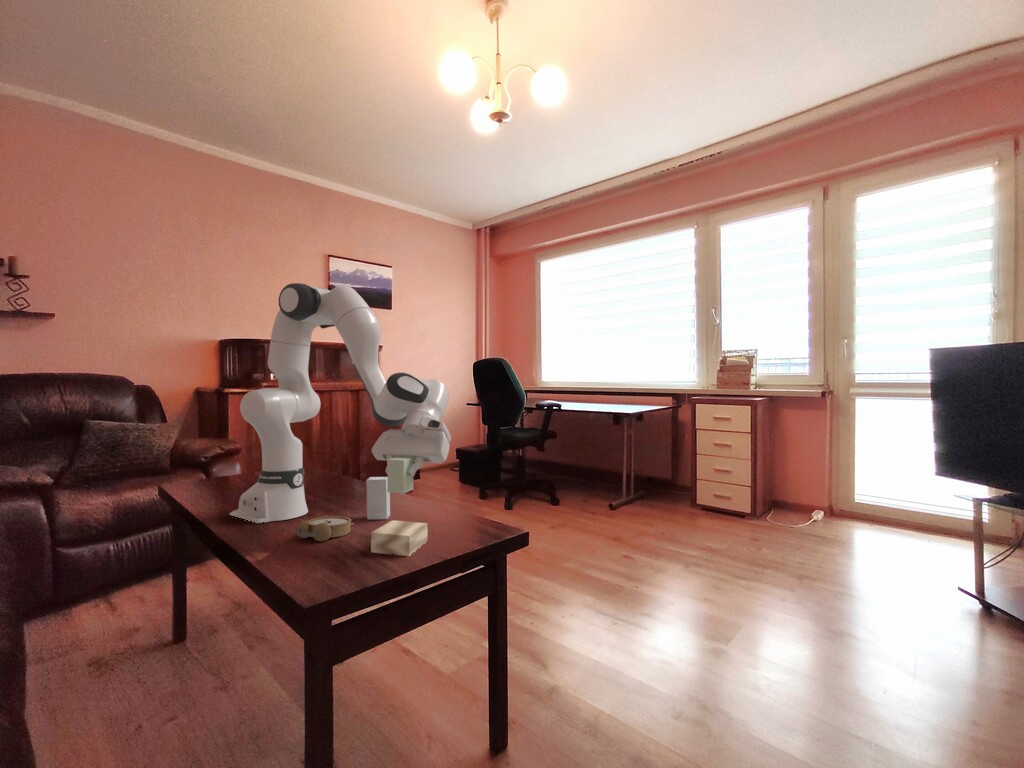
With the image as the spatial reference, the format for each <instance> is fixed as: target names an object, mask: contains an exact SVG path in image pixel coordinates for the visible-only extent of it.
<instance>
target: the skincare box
mask: <svg viewBox="0 0 1024 768" xmlns="http://www.w3.org/2000/svg"><path fill="white" fill-rule="evenodd" d="M365 481H366V519H367V520H370V521H371V520H387V519H389V518H390V517H391V497H390V496H391V493H389V492H388V476H370V477H368V478H367V479H366V480H365ZM389 516H390V517H389ZM388 517H389V518H388Z"/></svg>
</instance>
